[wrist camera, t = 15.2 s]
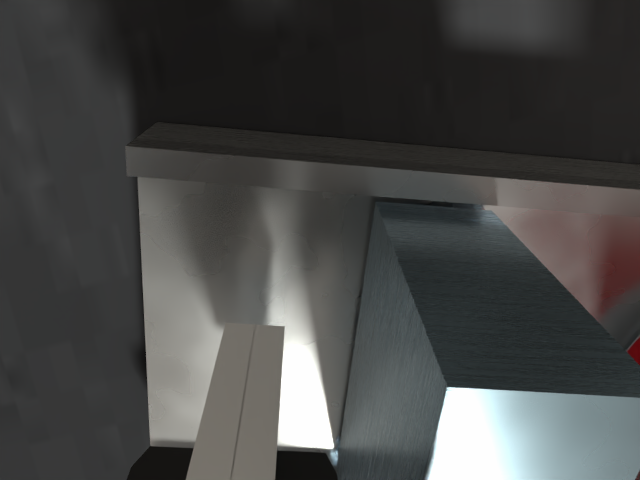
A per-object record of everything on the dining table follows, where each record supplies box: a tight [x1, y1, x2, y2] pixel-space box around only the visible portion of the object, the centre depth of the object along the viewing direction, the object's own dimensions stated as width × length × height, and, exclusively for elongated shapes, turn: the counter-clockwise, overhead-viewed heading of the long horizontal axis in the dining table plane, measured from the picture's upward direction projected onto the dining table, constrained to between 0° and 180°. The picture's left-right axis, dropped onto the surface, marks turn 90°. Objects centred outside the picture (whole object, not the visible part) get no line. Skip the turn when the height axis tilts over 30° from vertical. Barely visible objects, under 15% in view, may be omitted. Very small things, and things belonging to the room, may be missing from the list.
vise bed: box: [125, 122, 640, 480], centre depth 13 cm, size 26×11×9 cm, turn 85°
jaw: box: [337, 201, 640, 480], centre depth 12 cm, size 3×9×7 cm, turn 174°
